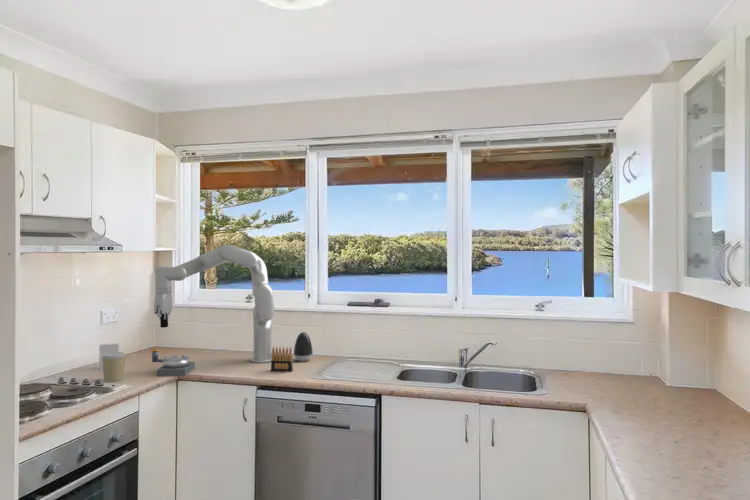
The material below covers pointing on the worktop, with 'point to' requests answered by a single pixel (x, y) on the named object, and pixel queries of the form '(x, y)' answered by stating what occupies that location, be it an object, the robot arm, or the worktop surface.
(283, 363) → the ammunition clip
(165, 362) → the gold-rimmed tube plate
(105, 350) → the base with upright slab
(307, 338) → the black egg shaped speaker
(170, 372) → the grey rectangular base plate
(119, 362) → the coffee cup
